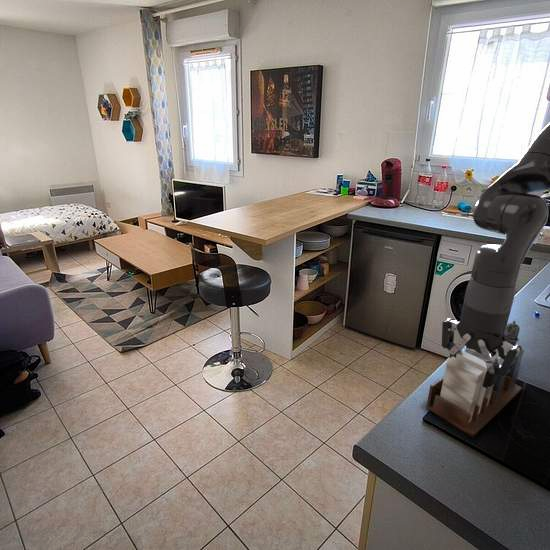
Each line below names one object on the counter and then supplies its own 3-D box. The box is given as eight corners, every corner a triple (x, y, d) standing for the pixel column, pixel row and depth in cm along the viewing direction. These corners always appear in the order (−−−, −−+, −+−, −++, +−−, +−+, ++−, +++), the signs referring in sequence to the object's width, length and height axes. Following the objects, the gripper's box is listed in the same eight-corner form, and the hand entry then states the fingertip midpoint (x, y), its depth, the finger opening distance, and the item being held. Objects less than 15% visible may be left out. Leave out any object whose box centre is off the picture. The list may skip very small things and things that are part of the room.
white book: (479, 412, 74) (492, 364, 69) (474, 417, 73) (487, 368, 68) (451, 396, 78) (461, 349, 74) (446, 400, 77) (456, 353, 72)
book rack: (521, 390, 81) (536, 341, 76) (473, 437, 69) (487, 383, 64) (476, 368, 88) (487, 322, 83) (425, 407, 76) (434, 357, 72)
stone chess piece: (522, 367, 88) (535, 324, 83) (503, 372, 87) (515, 329, 82) (502, 354, 93) (513, 313, 89) (484, 358, 92) (494, 316, 87)
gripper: (540, 311, 63) (517, 388, 69) (459, 284, 73) (445, 353, 80) (522, 325, 59) (498, 406, 65) (439, 294, 69) (426, 366, 76)
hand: (469, 376), depth 73 cm, fingers closed on white book, 6 cm apart
